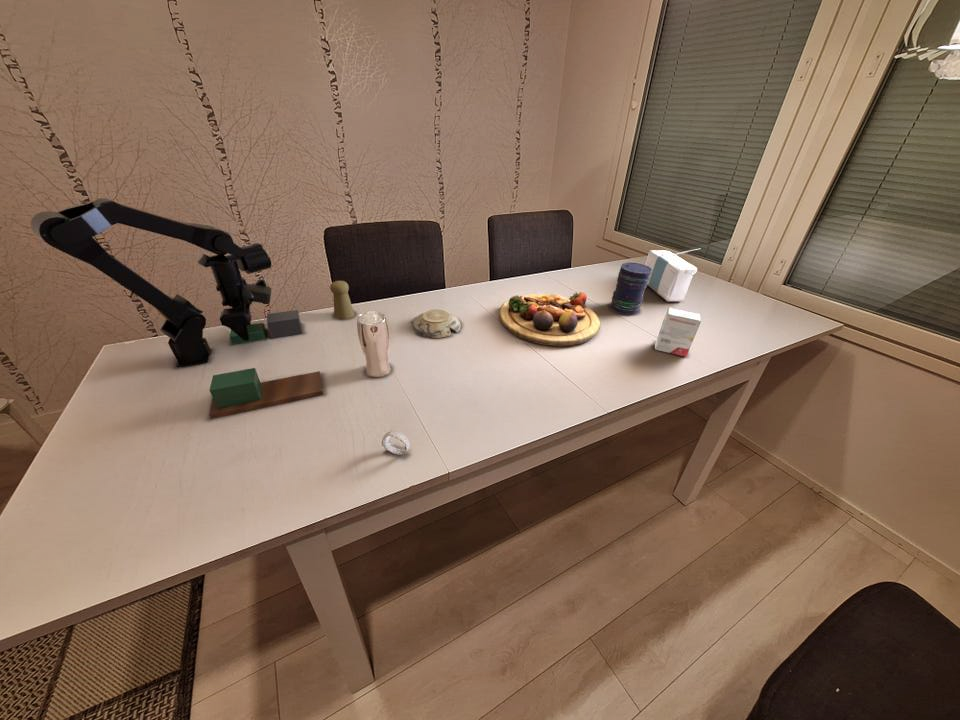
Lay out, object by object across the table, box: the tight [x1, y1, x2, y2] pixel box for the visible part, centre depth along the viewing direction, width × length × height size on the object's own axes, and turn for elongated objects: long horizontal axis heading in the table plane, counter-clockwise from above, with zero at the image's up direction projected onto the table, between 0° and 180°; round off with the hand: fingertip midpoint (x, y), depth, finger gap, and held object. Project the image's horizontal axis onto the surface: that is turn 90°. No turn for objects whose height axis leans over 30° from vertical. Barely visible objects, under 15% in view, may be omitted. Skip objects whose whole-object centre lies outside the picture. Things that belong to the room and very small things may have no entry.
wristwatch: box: [381, 430, 411, 456], centre depth 70 cm, size 3×5×5 cm, turn 73°
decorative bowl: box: [412, 309, 461, 339], centre depth 112 cm, size 15×4×15 cm
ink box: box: [654, 307, 702, 357], centre depth 105 cm, size 9×5×12 cm, turn 65°
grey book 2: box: [268, 319, 304, 339], centre depth 106 cm, size 8×6×2 cm
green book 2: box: [214, 376, 262, 409], centre depth 80 cm, size 8×6×2 cm
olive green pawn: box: [329, 280, 355, 321], centre depth 113 cm, size 6×6×11 cm
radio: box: [644, 247, 702, 303], centre depth 138 cm, size 21×8×20 cm, turn 6°
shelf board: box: [208, 370, 324, 419], centre depth 83 cm, size 22×8×1 cm, turn 114°
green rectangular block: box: [229, 322, 267, 345], centre depth 102 cm, size 8×6×2 cm
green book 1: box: [208, 367, 259, 400], centre depth 79 cm, size 8×6×2 cm
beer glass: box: [356, 310, 392, 378], centre depth 89 cm, size 7×7×15 cm
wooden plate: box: [498, 291, 601, 347], centre depth 117 cm, size 32×32×8 cm
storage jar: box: [609, 262, 652, 316], centre depth 126 cm, size 10×10×15 cm
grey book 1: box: [266, 309, 301, 332], centre depth 104 cm, size 8×6×2 cm
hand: (247, 332), depth 102 cm, fingers open, 9 cm apart
